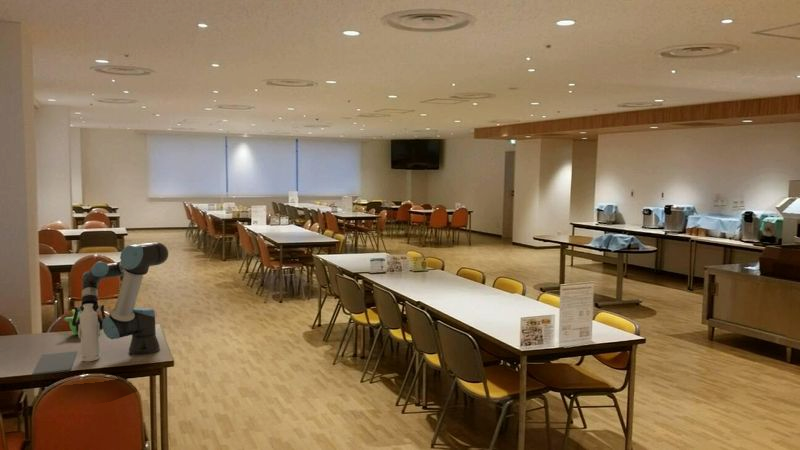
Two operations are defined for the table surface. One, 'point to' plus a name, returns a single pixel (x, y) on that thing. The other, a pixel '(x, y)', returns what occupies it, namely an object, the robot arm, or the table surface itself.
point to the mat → (55, 363)
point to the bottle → (89, 333)
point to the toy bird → (72, 320)
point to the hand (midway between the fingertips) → (89, 335)
